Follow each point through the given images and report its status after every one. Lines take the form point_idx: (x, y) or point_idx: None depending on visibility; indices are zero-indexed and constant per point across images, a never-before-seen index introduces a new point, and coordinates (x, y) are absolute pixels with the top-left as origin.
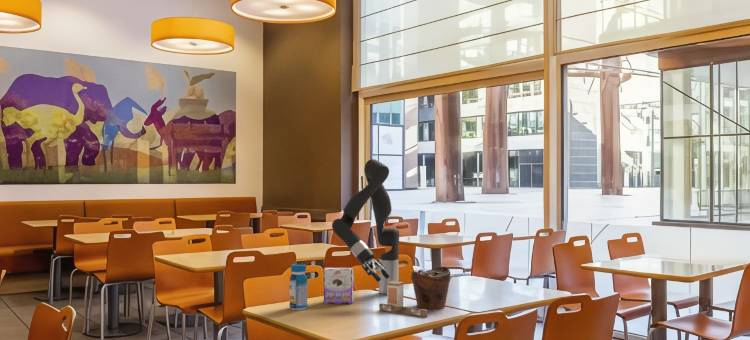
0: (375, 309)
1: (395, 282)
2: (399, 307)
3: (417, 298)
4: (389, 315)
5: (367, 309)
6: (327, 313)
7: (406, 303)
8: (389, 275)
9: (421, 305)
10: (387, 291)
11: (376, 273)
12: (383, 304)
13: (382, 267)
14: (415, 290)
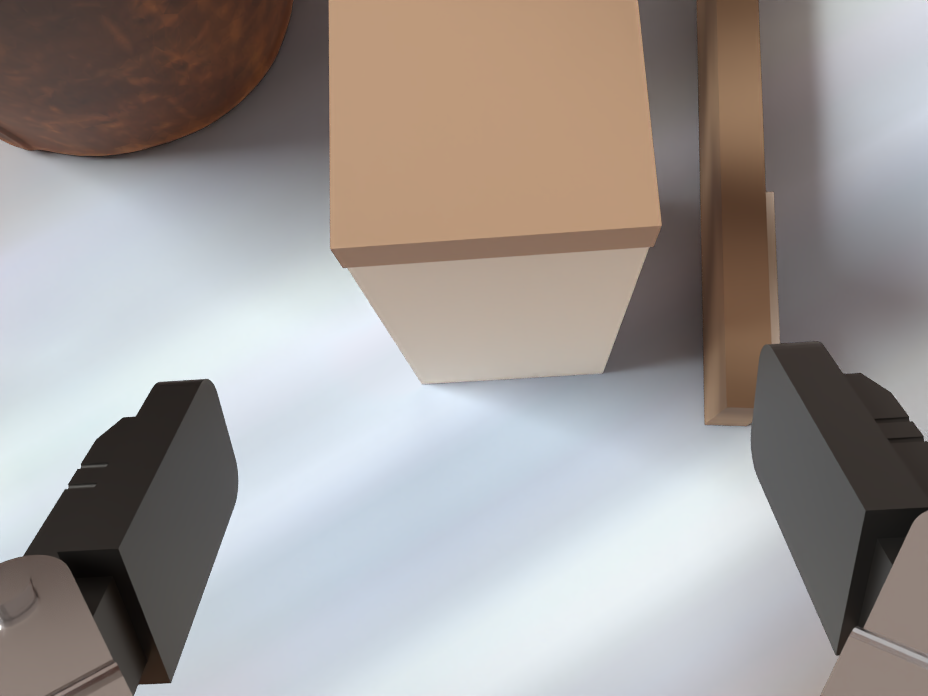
0: (707, 524)
1: (483, 86)
2: (756, 53)
3: (244, 8)
4: (921, 147)
5: (784, 638)
6: None
7: (85, 348)
8: (160, 385)
9: (283, 6)
10: (632, 285)
11: (896, 483)
12: (769, 327)
13: (45, 667)
14: None
